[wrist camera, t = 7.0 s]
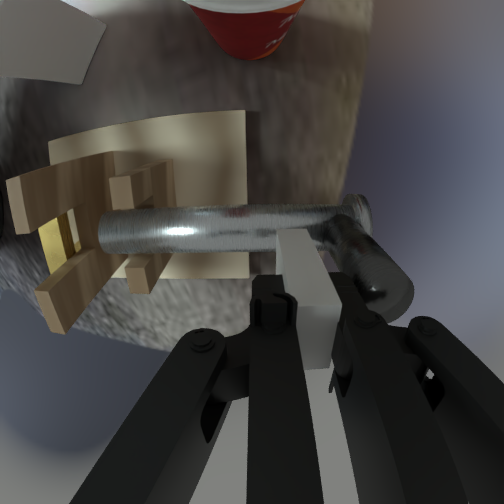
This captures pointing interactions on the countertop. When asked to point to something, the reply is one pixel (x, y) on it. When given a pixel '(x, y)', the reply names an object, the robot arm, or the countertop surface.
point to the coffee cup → (247, 24)
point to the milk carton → (46, 40)
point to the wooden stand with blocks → (132, 200)
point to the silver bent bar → (268, 239)
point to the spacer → (58, 241)
